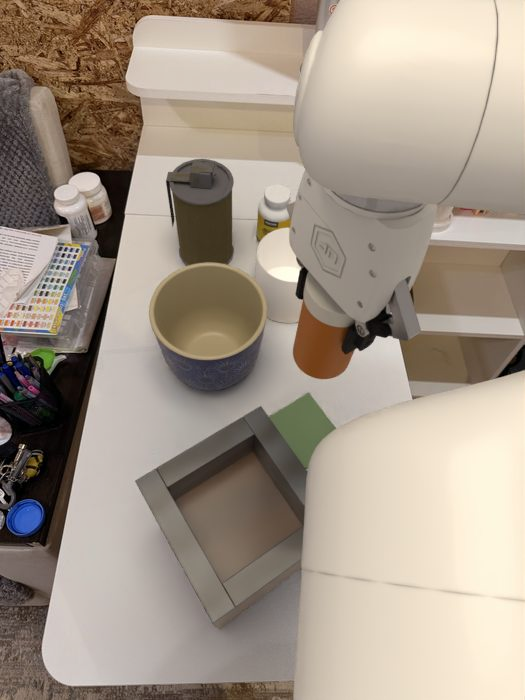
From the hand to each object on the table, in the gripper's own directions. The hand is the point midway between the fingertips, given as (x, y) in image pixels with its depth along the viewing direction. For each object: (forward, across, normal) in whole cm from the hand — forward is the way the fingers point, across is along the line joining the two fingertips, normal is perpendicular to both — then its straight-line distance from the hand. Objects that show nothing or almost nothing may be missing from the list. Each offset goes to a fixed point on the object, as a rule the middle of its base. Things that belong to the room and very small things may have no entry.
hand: (332, 316), depth 47 cm
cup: (+38, -24, +16) cm, 47 cm away
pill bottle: (+38, -37, +22) cm, 57 cm away
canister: (+38, -41, +9) cm, 56 cm away
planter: (+38, -20, -2) cm, 43 cm away
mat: (+37, -1, +3) cm, 37 cm away
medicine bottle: (+7, 0, 0) cm, 7 cm away
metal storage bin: (+37, +7, -14) cm, 40 cm away
